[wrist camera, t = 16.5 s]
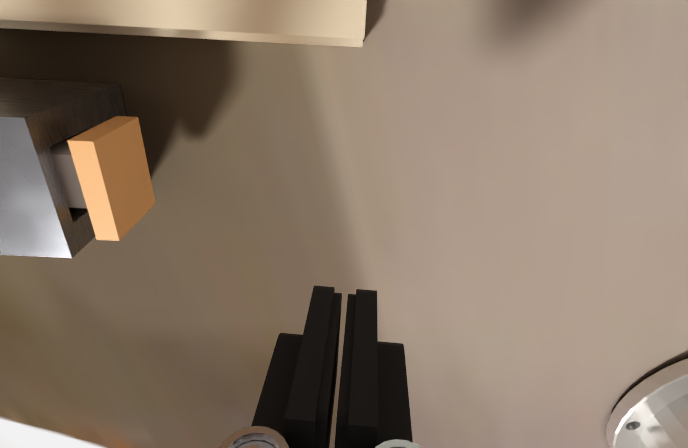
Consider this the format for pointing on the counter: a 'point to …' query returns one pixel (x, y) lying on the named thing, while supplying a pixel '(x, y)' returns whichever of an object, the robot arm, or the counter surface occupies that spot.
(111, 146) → the plunger
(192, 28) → the pallet
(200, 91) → the counter surface
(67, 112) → the grey metal housing
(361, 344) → the robot arm
